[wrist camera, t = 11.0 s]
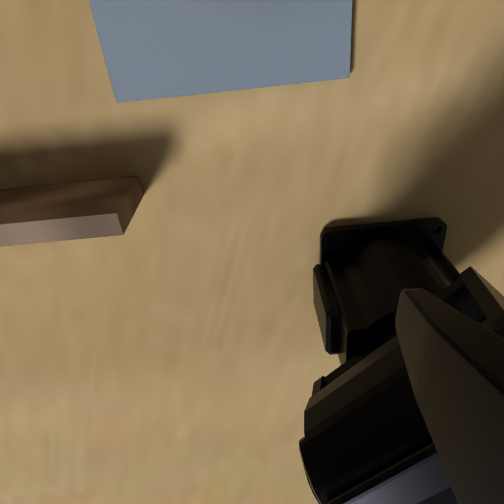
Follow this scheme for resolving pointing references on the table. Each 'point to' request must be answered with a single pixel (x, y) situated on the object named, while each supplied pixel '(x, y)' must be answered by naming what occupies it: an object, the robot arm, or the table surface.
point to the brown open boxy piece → (68, 210)
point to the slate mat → (220, 44)
